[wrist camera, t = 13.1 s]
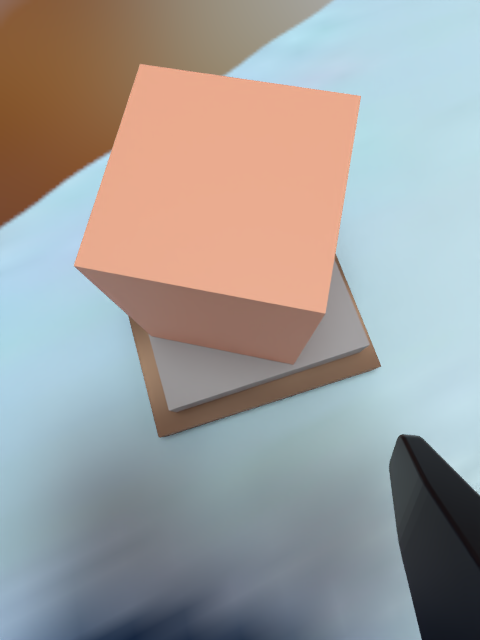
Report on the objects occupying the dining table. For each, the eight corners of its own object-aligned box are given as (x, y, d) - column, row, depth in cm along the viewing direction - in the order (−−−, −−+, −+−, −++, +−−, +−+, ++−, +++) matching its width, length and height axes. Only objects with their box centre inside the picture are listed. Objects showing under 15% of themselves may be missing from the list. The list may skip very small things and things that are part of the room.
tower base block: (370, 371, 23) (381, 365, 21) (167, 436, 23) (158, 437, 21) (299, 192, 26) (303, 173, 24) (118, 246, 26) (107, 232, 24)
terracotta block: (293, 364, 20) (325, 313, 11) (151, 336, 20) (73, 265, 11) (317, 232, 21) (361, 95, 13) (185, 209, 22) (139, 63, 13)
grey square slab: (359, 352, 22) (369, 344, 20) (176, 412, 21) (169, 410, 19) (294, 192, 24) (298, 171, 22) (130, 242, 24) (119, 226, 22)
